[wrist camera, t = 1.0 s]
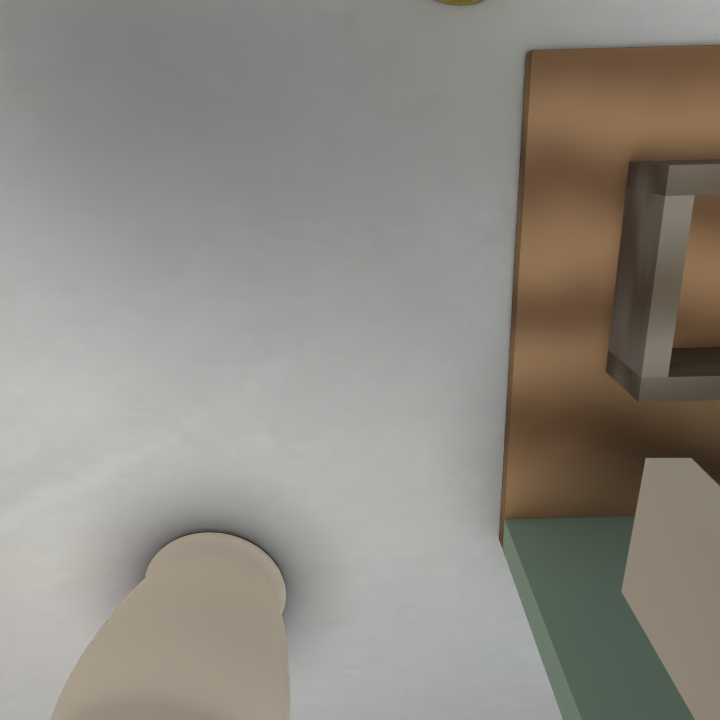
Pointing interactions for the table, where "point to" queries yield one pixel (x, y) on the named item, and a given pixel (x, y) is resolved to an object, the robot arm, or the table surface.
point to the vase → (461, 2)
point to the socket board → (613, 278)
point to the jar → (190, 641)
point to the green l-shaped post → (588, 619)
